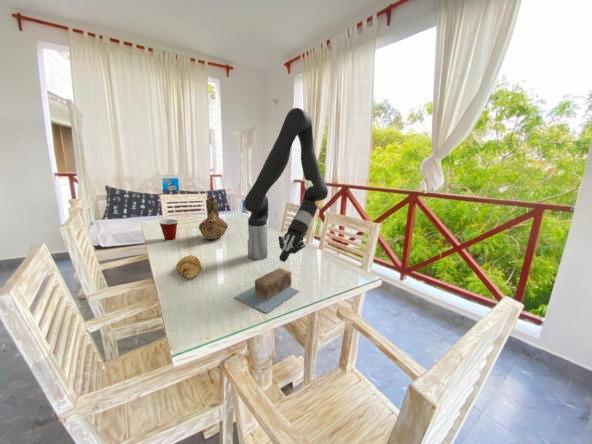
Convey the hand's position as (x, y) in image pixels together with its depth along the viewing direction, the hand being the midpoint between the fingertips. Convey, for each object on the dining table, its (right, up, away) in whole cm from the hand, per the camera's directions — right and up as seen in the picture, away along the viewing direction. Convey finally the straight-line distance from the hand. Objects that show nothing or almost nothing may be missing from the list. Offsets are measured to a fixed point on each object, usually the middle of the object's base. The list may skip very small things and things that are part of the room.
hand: (281, 260), depth 99 cm
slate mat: (-5, -12, -4) cm, 14 cm away
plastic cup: (-72, +4, +59) cm, 93 cm away
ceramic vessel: (-46, +4, +61) cm, 76 cm away
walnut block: (+1, -7, +4) cm, 8 cm away
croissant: (-43, -7, +16) cm, 46 cm away
